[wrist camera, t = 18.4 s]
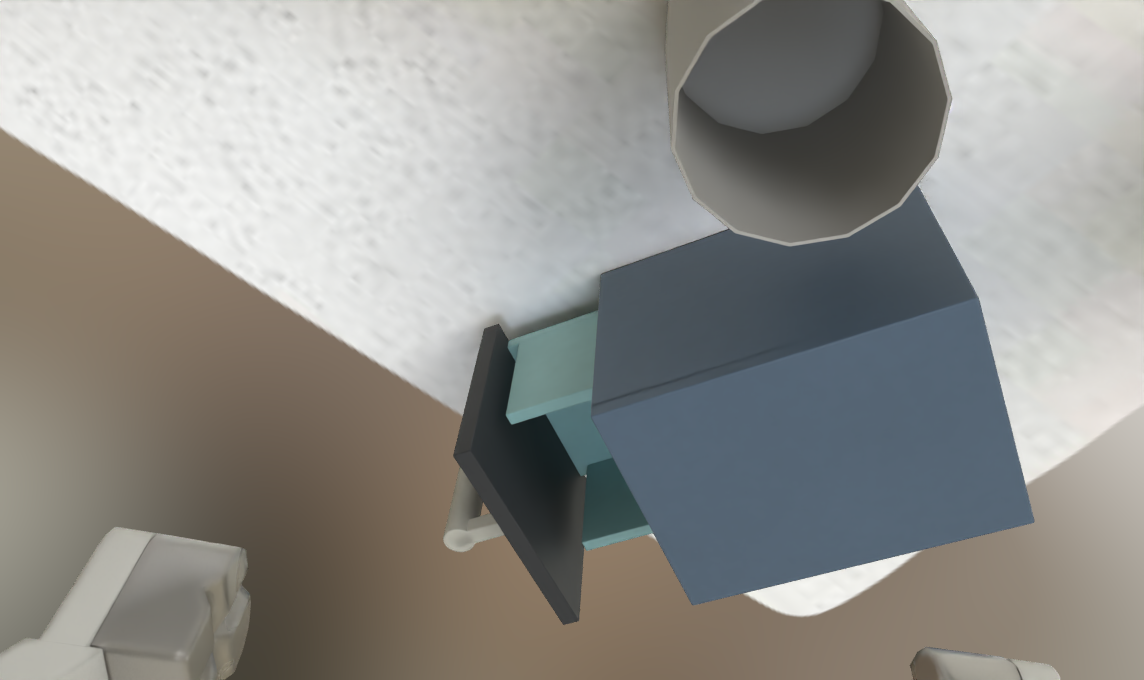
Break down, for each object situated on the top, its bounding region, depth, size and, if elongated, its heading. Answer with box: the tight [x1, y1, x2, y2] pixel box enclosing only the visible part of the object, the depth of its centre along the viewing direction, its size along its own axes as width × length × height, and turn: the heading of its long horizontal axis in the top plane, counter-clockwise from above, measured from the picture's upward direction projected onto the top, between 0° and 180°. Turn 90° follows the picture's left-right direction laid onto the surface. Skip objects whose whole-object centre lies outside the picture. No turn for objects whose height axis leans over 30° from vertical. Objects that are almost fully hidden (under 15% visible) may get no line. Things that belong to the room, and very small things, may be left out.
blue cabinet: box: [591, 185, 1034, 605], centre depth 41 cm, size 14×11×10 cm
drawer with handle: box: [443, 310, 653, 625], centre depth 43 cm, size 17×11×9 cm, turn 114°
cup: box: [665, 0, 952, 246], centre depth 34 cm, size 8×8×10 cm
